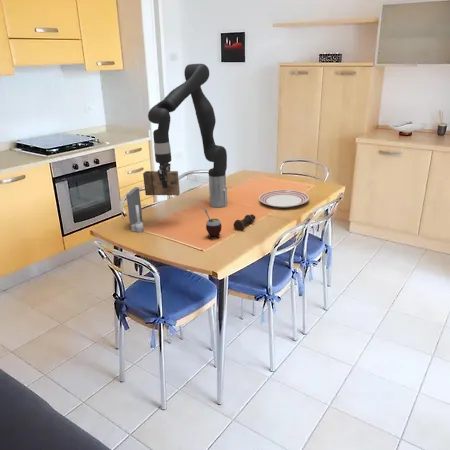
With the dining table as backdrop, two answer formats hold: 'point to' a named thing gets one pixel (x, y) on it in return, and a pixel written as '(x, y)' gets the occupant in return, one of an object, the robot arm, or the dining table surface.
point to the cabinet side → (135, 210)
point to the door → (155, 185)
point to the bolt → (243, 222)
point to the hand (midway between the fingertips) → (166, 186)
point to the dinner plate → (284, 198)
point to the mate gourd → (213, 227)
